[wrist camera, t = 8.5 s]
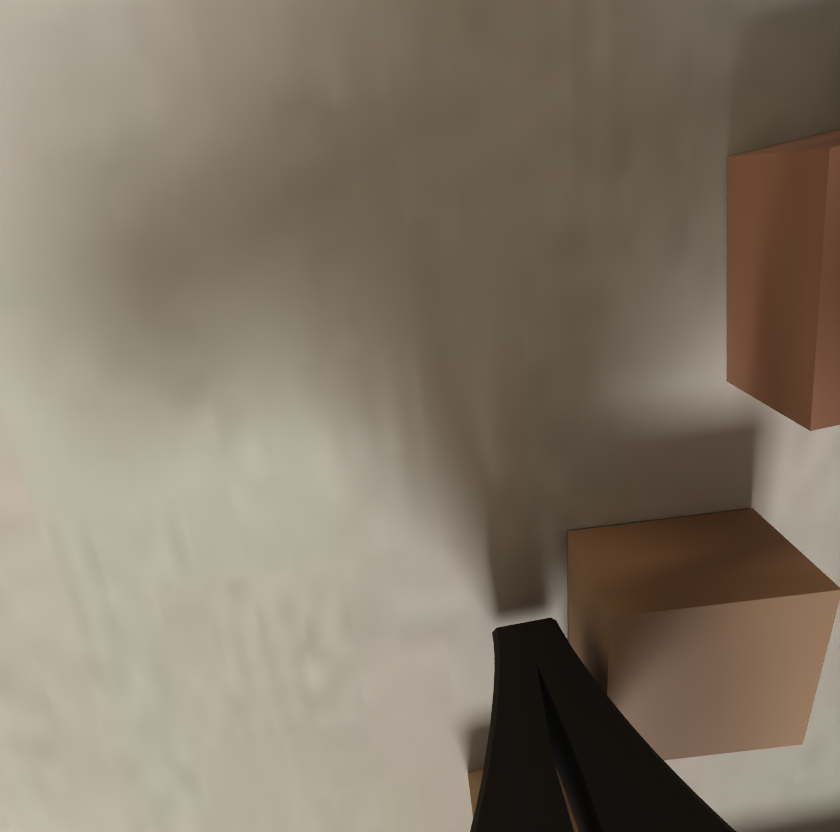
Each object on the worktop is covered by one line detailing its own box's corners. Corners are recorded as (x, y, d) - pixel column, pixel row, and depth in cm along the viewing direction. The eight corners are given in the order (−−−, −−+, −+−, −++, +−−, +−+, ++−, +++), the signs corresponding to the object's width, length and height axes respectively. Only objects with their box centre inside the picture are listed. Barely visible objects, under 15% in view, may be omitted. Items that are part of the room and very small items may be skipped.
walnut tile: (752, 508, 11) (842, 589, 9) (731, 645, 13) (802, 744, 11) (567, 531, 11) (609, 617, 9) (568, 664, 13) (604, 766, 11)
